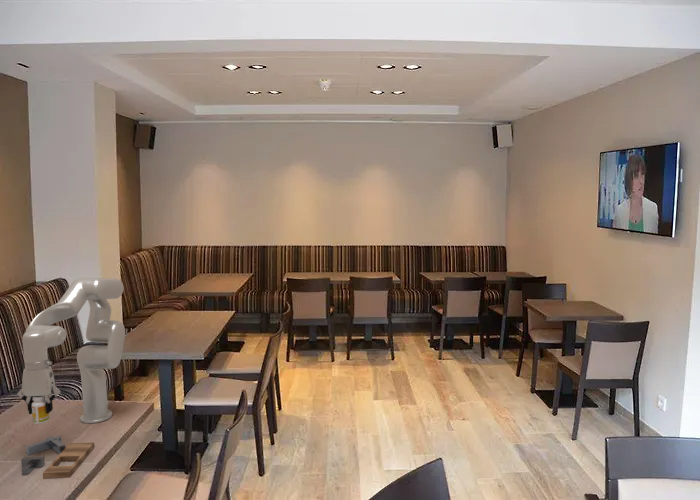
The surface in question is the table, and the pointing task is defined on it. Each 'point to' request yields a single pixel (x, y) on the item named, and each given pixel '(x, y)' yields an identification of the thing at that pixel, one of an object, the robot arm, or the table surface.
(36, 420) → the supplement bottle
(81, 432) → the table surface
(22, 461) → the gray tee-shaped block
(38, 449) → the vee block
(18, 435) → the table surface
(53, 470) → the block with square hole
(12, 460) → the table surface
